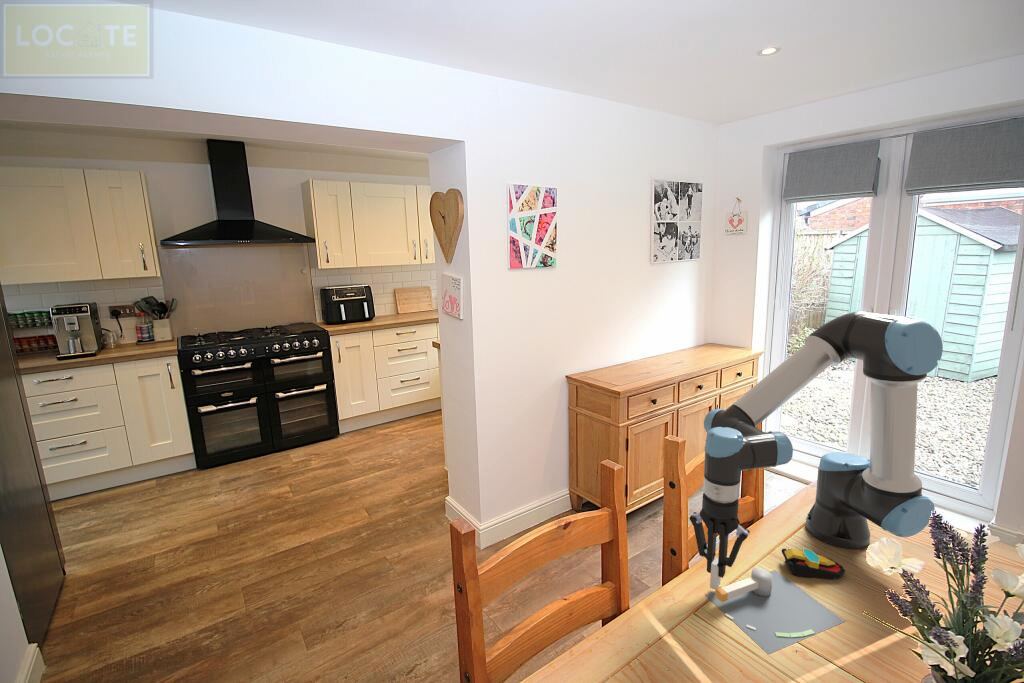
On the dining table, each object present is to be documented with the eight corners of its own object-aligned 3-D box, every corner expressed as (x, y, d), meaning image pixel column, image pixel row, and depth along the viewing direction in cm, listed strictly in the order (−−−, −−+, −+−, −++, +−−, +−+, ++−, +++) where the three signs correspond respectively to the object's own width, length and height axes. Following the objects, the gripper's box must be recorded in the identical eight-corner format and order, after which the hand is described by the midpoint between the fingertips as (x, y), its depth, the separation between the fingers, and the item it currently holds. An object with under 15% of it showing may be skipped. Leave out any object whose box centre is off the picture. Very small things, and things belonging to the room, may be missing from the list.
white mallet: (760, 580, 118) (761, 566, 117) (775, 592, 114) (777, 578, 113) (711, 598, 113) (711, 583, 112) (725, 611, 109) (726, 596, 108)
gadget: (844, 591, 117) (851, 572, 116) (785, 576, 120) (791, 557, 118) (834, 573, 123) (840, 555, 122) (778, 560, 126) (783, 541, 124)
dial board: (774, 574, 122) (775, 569, 122) (844, 626, 106) (845, 620, 105) (703, 599, 115) (703, 594, 114) (766, 659, 98) (766, 653, 98)
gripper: (685, 493, 111) (681, 582, 116) (746, 512, 103) (739, 607, 108) (697, 480, 117) (693, 566, 122) (756, 497, 109) (748, 588, 114)
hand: (715, 585), depth 115 cm, fingers closed
